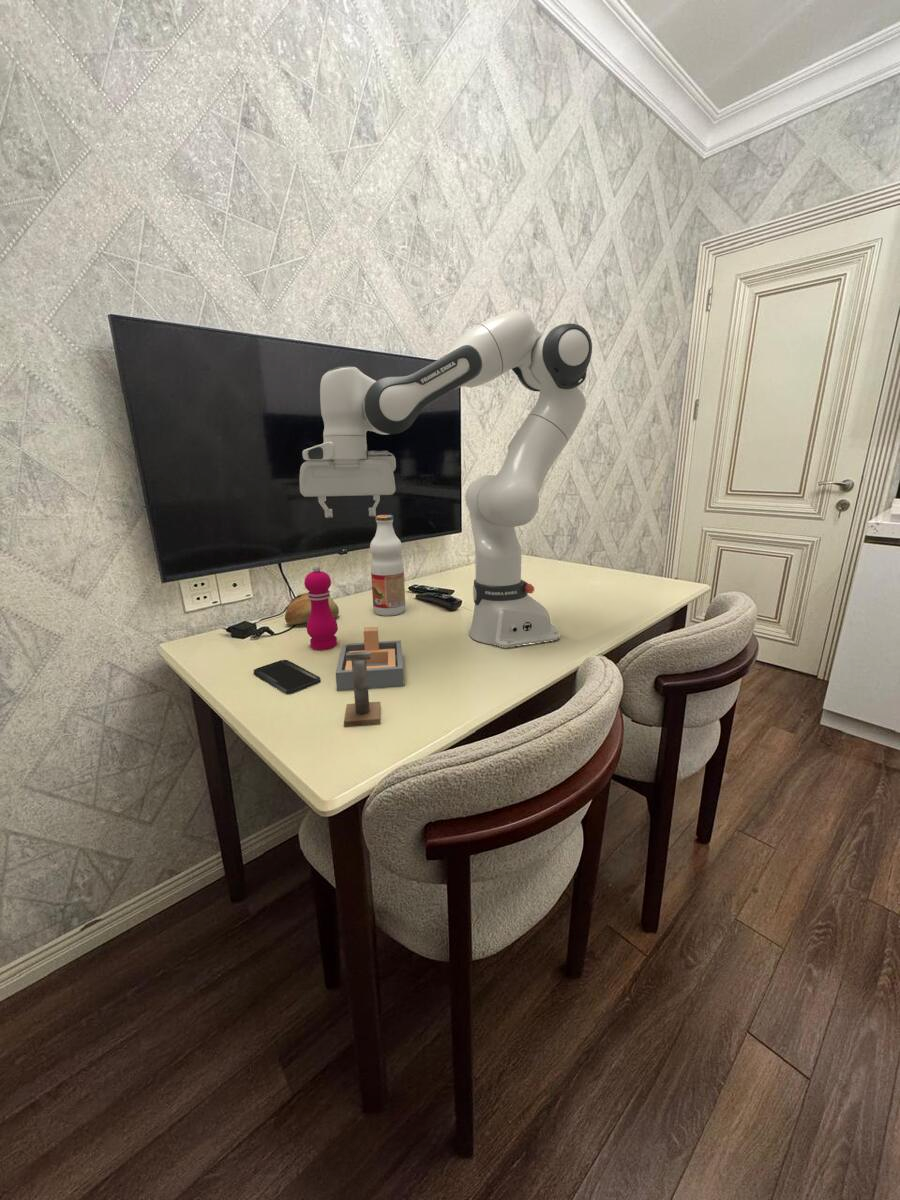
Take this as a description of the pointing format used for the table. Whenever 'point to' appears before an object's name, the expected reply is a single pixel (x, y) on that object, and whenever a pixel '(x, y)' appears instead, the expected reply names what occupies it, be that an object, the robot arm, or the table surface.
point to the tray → (374, 675)
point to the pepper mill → (320, 611)
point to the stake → (361, 694)
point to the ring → (375, 650)
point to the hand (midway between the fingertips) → (350, 516)
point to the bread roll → (304, 609)
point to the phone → (287, 676)
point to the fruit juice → (387, 569)
